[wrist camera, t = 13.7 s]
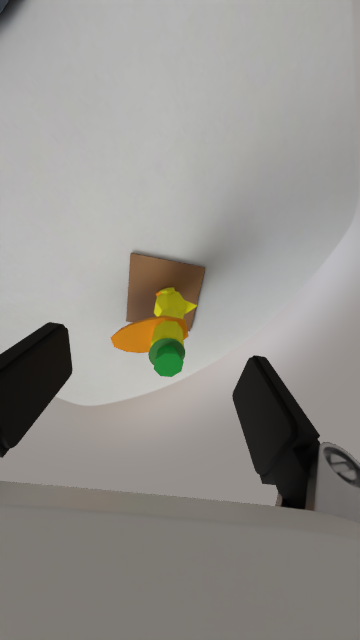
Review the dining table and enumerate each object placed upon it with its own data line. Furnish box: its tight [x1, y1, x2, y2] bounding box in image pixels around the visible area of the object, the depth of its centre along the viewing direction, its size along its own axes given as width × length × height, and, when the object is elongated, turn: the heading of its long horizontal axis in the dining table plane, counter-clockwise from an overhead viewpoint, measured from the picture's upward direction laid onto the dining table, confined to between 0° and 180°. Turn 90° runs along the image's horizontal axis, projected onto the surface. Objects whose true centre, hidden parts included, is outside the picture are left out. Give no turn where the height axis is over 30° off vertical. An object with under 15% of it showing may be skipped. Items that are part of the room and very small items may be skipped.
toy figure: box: [111, 287, 197, 377], centre depth 15 cm, size 7×4×12 cm, turn 100°
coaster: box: [126, 253, 205, 331], centre depth 20 cm, size 8×8×1 cm
